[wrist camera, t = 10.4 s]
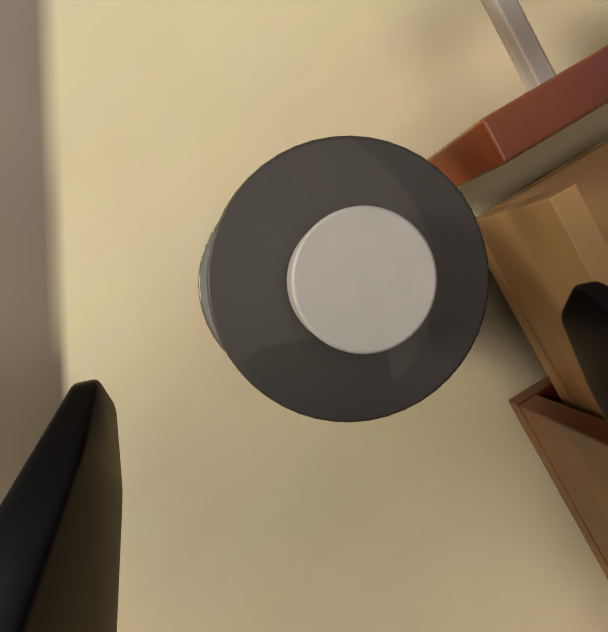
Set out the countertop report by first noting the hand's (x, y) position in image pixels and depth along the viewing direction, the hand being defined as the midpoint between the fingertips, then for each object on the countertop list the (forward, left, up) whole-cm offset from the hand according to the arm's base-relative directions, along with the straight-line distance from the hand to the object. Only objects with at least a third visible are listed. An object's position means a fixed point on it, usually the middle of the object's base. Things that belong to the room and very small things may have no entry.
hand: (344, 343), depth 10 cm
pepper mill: (0, +1, -7) cm, 7 cm away
